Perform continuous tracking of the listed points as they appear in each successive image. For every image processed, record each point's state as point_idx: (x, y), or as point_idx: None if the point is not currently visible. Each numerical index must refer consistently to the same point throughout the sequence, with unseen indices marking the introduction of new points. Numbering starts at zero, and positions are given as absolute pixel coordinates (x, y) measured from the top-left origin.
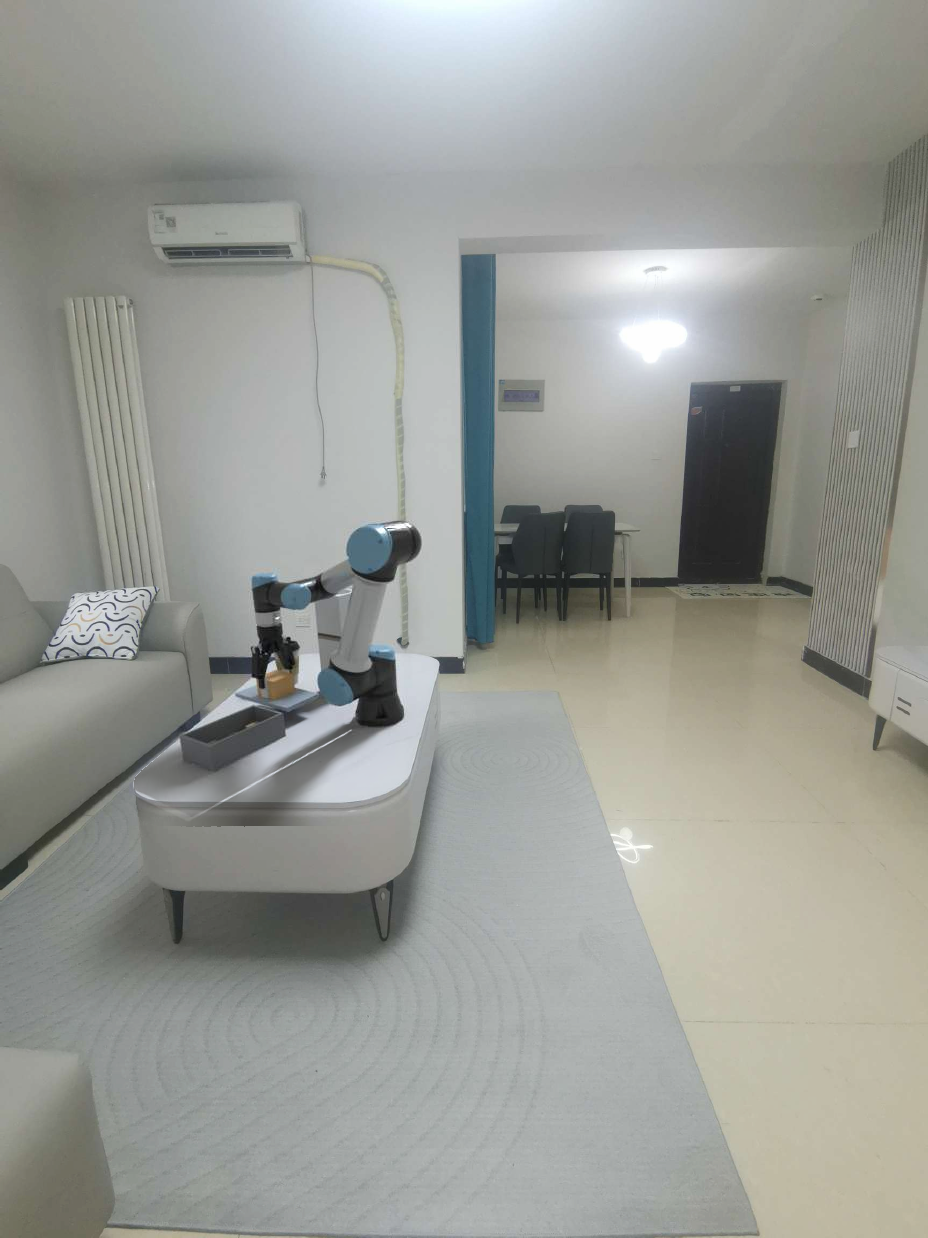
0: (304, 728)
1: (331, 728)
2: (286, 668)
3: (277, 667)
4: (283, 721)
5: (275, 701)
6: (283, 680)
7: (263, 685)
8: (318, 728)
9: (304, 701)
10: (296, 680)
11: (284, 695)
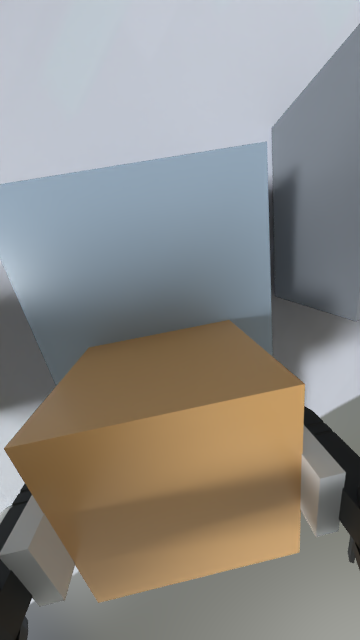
0: (173, 153)
1: (89, 22)
2: (13, 595)
3: None
4: (339, 52)
5: (239, 301)
6: (163, 393)
7: (306, 425)
8: (133, 91)
9: (114, 170)
10: (2, 518)
11: (165, 334)
